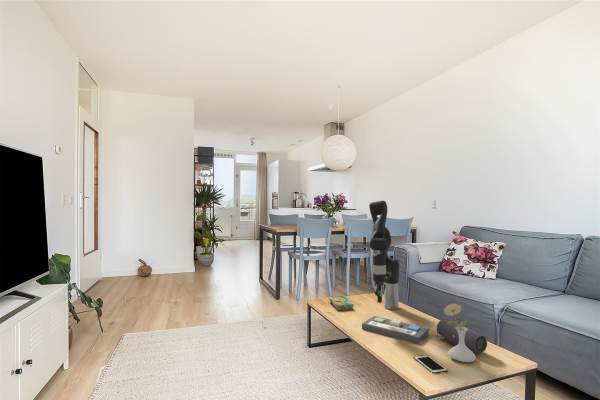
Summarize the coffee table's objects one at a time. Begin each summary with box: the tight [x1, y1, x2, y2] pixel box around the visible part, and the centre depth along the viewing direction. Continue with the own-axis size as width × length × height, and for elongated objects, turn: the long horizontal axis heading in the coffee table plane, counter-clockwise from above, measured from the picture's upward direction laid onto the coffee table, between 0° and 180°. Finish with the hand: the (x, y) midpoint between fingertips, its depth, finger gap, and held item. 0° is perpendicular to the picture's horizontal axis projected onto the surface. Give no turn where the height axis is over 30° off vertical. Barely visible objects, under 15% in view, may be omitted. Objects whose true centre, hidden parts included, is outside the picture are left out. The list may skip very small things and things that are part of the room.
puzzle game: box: [327, 295, 355, 311], centre depth 226 cm, size 12×5×20 cm
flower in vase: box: [443, 303, 477, 363], centre depth 148 cm, size 13×11×25 cm
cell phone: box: [413, 354, 449, 374], centre depth 143 cm, size 8×15×1 cm, turn 14°
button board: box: [361, 315, 430, 345], centre depth 180 cm, size 16×32×4 cm, turn 51°
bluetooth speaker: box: [436, 319, 488, 354], centre depth 161 cm, size 23×9×10 cm, turn 23°
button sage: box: [374, 316, 385, 323], centre depth 188 cm, size 5×5×4 cm
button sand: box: [390, 318, 403, 327], centre depth 181 cm, size 5×5×4 cm
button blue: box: [408, 324, 420, 332], centre depth 175 cm, size 5×5×4 cm
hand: (379, 302), depth 188 cm, fingers closed
